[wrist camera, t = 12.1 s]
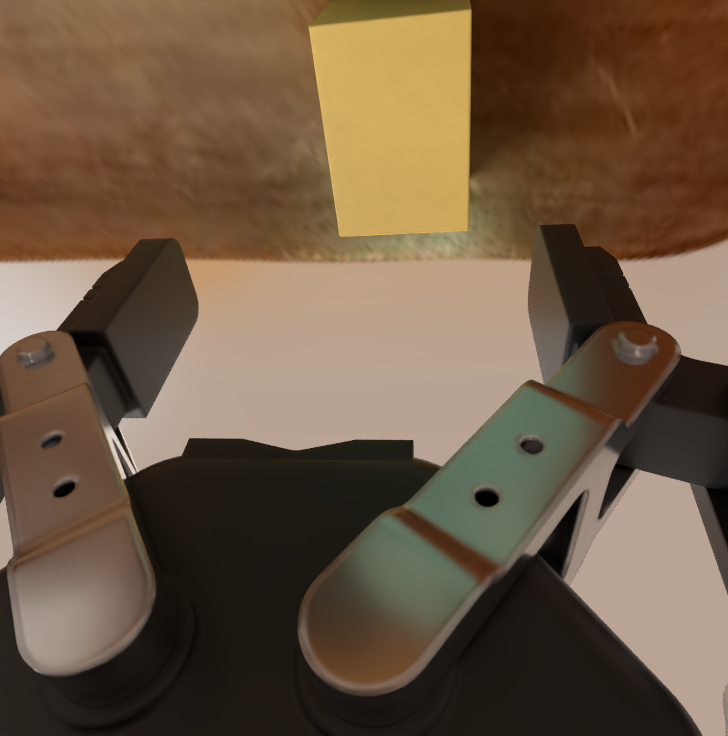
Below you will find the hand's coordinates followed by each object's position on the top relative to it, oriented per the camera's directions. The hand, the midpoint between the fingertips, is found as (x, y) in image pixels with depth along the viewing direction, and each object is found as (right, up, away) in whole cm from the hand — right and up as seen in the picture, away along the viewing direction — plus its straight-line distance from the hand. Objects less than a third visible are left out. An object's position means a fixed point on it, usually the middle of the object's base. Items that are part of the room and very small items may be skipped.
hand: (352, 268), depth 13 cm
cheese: (+2, +7, +7) cm, 10 cm away
